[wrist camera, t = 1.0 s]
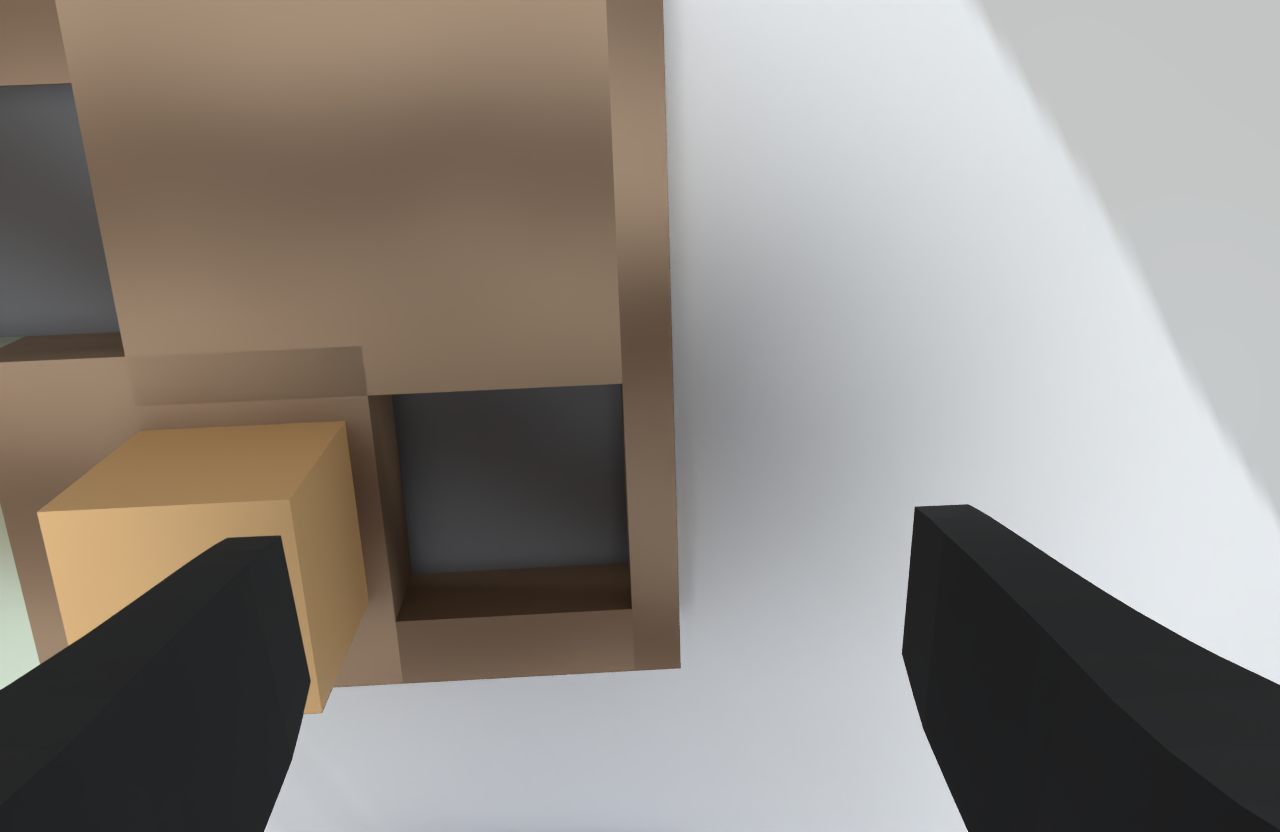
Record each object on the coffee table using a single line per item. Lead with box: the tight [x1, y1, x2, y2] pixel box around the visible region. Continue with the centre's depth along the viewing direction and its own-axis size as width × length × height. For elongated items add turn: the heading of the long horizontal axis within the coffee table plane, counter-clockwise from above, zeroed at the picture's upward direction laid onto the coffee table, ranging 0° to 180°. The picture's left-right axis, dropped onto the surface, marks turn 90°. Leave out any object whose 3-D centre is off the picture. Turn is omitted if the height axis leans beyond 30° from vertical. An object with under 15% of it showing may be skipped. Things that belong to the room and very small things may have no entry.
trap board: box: [0, 0, 681, 690], centre depth 21 cm, size 14×19×2 cm
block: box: [37, 421, 369, 714], centre depth 19 cm, size 4×4×4 cm
